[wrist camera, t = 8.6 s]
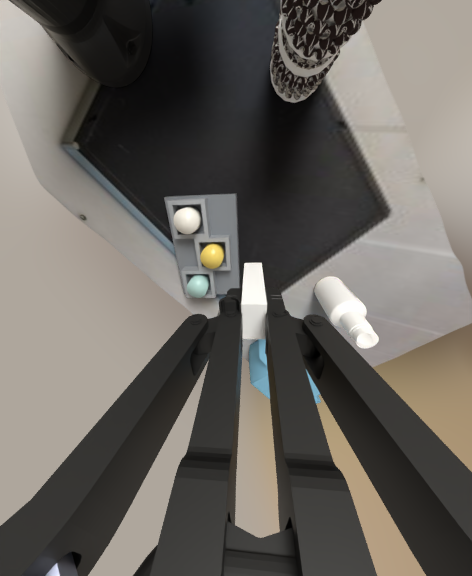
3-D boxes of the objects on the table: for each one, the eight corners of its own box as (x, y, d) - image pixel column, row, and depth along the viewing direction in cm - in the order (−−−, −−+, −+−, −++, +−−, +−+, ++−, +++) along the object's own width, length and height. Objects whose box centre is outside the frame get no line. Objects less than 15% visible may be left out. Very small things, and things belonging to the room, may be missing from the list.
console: (169, 196, 38) (158, 197, 34) (236, 193, 37) (234, 194, 32) (187, 288, 49) (180, 299, 44) (240, 288, 48) (238, 299, 43)
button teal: (190, 272, 43) (185, 280, 39) (209, 272, 42) (205, 280, 39) (193, 289, 45) (188, 297, 41) (211, 288, 45) (207, 297, 41)
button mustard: (203, 242, 39) (198, 247, 36) (224, 241, 39) (221, 247, 35) (206, 261, 41) (201, 268, 38) (225, 261, 41) (223, 268, 37)
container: (286, 308, 50) (299, 353, 37) (330, 359, 58) (354, 411, 45) (238, 336, 56) (235, 383, 43) (285, 378, 65) (294, 429, 51)
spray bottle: (325, 304, 48) (360, 361, 33) (307, 288, 47) (336, 341, 31) (348, 287, 46) (399, 340, 30) (331, 270, 44) (375, 318, 28)
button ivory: (178, 206, 36) (171, 209, 32) (201, 206, 36) (195, 208, 32) (182, 230, 38) (176, 234, 35) (203, 229, 38) (199, 234, 34)
